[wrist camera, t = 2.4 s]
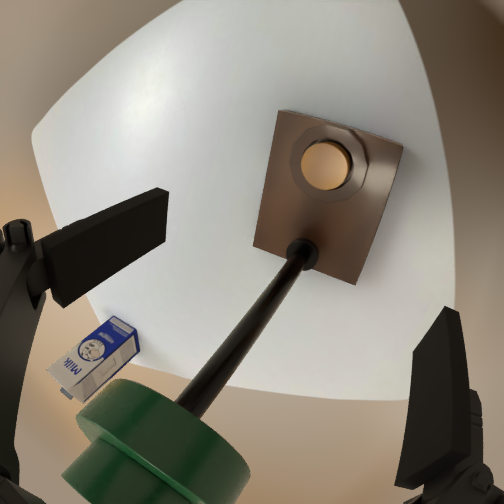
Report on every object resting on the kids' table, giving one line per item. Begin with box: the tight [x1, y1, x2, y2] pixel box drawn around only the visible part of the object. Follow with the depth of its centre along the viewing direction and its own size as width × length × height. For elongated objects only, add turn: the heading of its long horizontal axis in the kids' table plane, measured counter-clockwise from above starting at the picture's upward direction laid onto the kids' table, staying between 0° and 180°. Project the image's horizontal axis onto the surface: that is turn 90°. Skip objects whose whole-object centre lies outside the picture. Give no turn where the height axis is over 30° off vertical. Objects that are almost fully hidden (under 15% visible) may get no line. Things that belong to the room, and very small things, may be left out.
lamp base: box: [253, 110, 403, 285], centre depth 29 cm, size 12×15×4 cm
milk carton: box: [46, 316, 140, 404], centre depth 52 cm, size 7×7×20 cm
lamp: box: [61, 238, 319, 504], centre depth 20 cm, size 9×9×27 cm
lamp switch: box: [301, 141, 351, 190], centre depth 25 cm, size 4×4×2 cm
